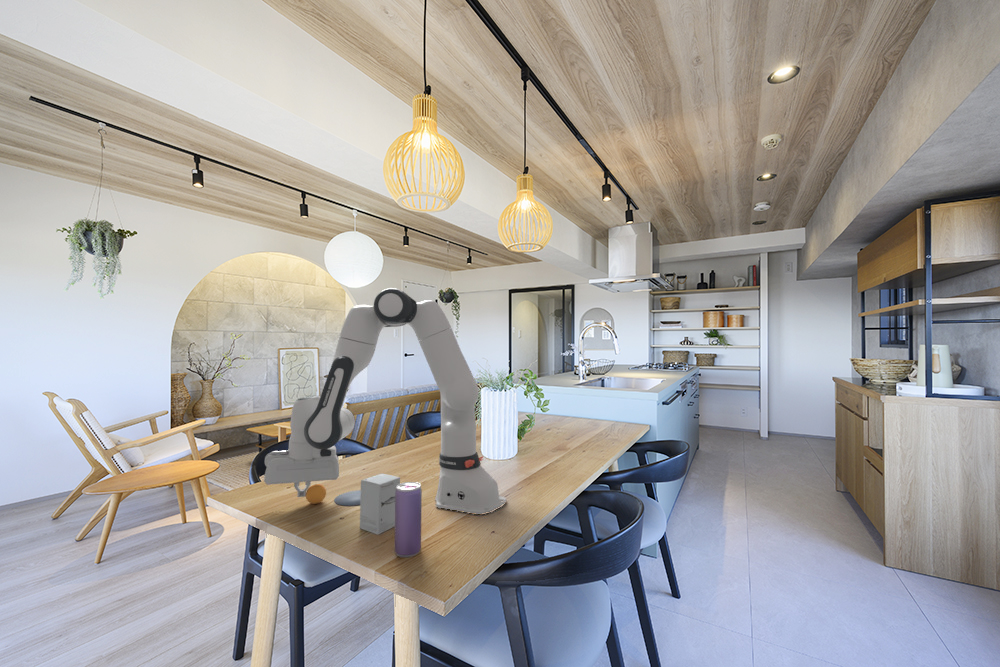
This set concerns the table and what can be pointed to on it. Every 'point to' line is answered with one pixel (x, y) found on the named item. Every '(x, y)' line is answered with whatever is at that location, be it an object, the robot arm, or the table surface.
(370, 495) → the supplement box
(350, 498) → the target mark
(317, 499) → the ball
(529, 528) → the table surface
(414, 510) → the beverage can
